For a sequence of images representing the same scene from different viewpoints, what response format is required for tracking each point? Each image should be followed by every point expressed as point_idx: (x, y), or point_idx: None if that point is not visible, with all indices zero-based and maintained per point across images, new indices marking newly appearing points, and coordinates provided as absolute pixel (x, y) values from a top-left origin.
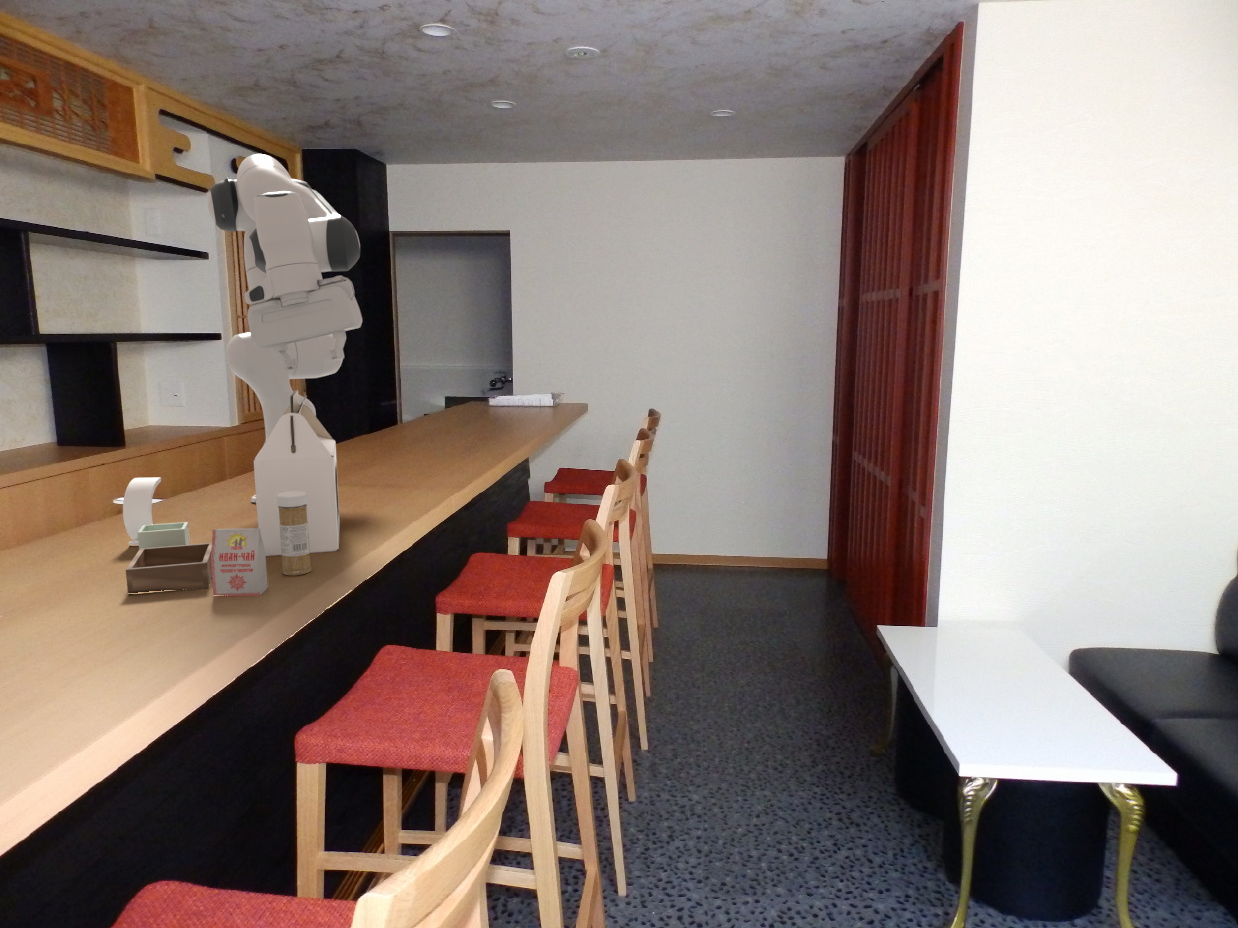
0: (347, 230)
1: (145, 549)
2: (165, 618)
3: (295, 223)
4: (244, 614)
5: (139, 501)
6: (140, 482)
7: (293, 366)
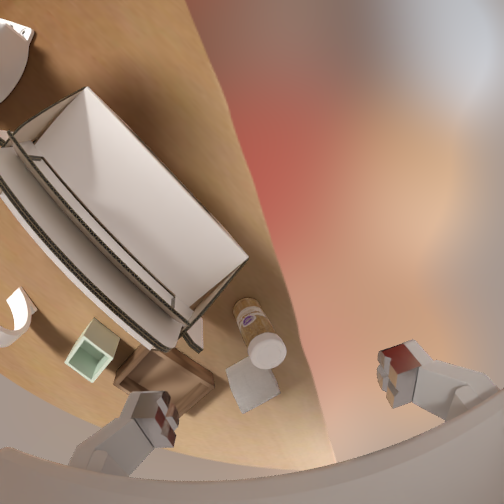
0: None
1: (119, 383)
2: (247, 415)
3: None
4: (290, 388)
5: (12, 340)
6: None
7: (174, 414)
